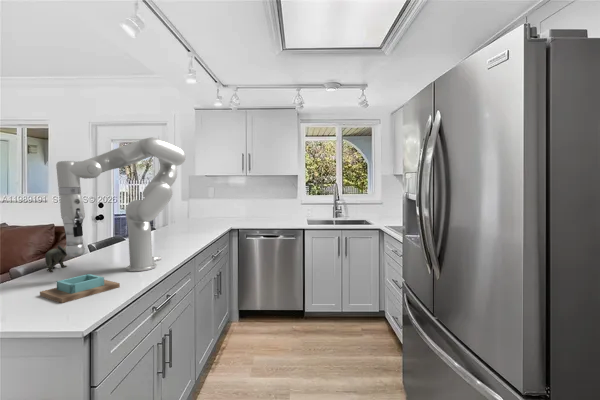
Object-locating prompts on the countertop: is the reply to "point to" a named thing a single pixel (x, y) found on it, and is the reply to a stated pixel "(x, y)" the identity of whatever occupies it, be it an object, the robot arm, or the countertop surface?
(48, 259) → the dinosaur figurine
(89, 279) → the walnut jig board
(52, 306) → the countertop surface
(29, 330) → the countertop surface
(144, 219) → the robot arm
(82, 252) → the silver aluminum bottle
